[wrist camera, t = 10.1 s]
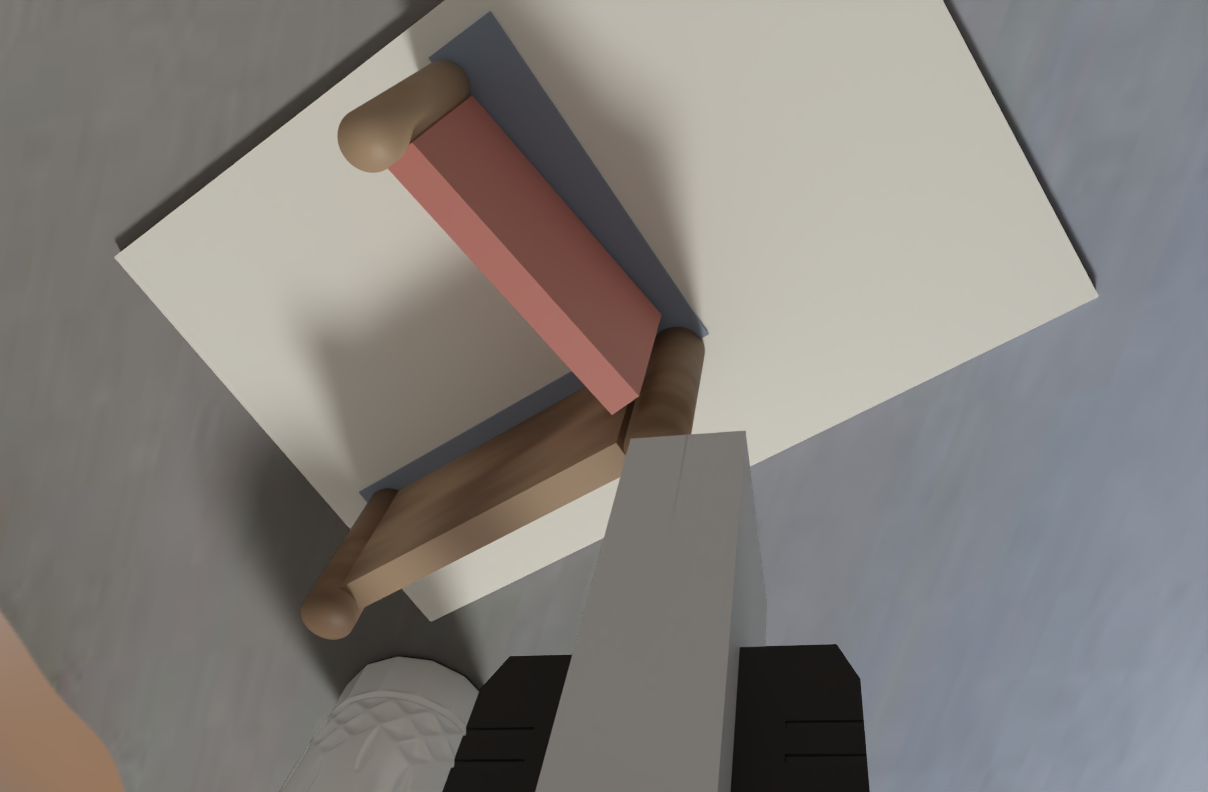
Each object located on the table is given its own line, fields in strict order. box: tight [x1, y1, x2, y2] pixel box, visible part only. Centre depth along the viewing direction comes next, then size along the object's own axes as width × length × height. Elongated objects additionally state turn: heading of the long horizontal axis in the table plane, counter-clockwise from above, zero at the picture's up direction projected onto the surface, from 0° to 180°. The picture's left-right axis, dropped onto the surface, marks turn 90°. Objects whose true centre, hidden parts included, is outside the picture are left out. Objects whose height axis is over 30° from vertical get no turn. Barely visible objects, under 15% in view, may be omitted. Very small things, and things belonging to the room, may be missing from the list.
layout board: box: [114, 0, 1099, 622], centre depth 34 cm, size 27×18×1 cm, turn 125°
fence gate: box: [337, 60, 662, 415], centre depth 30 cm, size 10×2×7 cm, turn 41°
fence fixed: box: [300, 327, 705, 639], centre depth 35 cm, size 15×2×6 cm, turn 125°
